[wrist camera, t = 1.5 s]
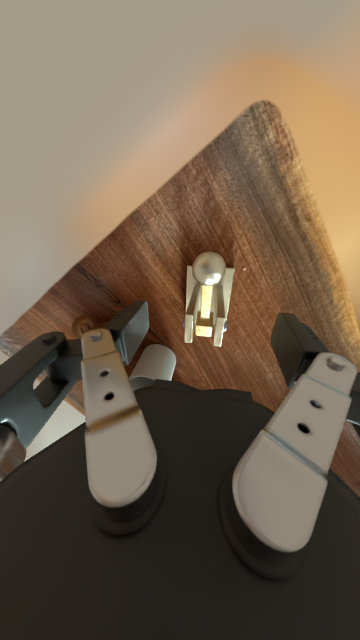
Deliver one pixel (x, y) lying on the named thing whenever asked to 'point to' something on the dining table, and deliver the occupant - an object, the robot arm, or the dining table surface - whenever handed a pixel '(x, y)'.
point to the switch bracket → (217, 304)
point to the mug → (87, 322)
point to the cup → (153, 366)
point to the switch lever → (207, 287)
